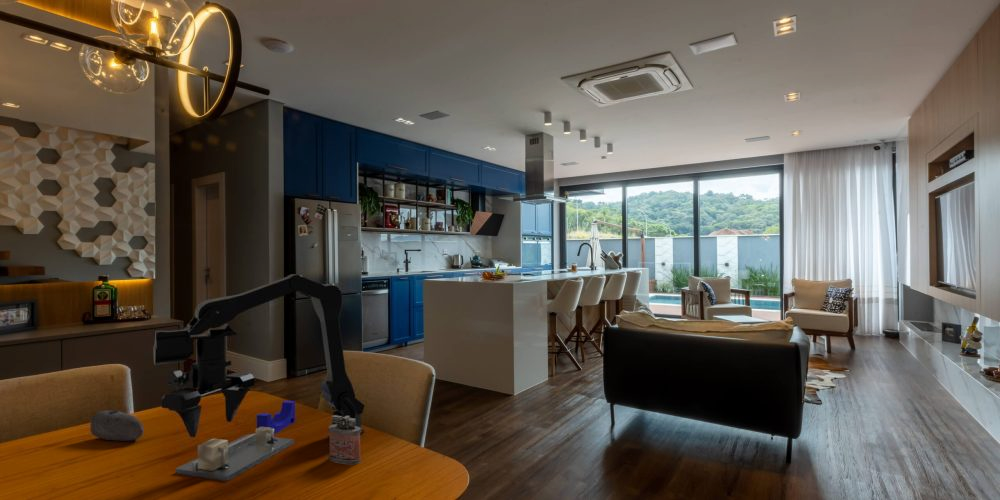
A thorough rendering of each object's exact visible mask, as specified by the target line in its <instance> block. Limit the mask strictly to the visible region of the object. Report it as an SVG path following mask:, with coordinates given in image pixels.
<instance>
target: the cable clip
mask: <svg viewBox="0 0 1000 500" xmlns="http://www.w3.org/2000/svg"><path fill="white" fill-rule="evenodd" d="M280 408H281V410H280V411H278V412H276V413H274V415H273V417H272V413H265V412H264V413H262V412H261V413H258V414H256V429H257V428H259V427H270V428H273V429H274V435H275V434H277V433H278V432H280V431H282V430H284V429H285V428H287V427H289V426H290V425H292V424H293V423H296V401H295V400H294V401H293V400H285V401H282V403H281V407H280Z"/></svg>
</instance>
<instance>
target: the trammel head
mask: <svg viewBox="0 0 1000 500" xmlns="http://www.w3.org/2000/svg"><path fill="white" fill-rule="evenodd" d="M228 444H229V440H228V439H221V438H211V439H209V440H207V441H205V442H203V443H201V444H198V445H197V458H198V469H203V470H210V471H213V470H215V469H217V468H219V467H224V466H225V464H227V463H228Z"/></svg>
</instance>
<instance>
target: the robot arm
mask: <svg viewBox="0 0 1000 500" xmlns="http://www.w3.org/2000/svg"><path fill="white" fill-rule="evenodd" d="M292 293H298V294H300V295H302V296H304V297H307V298H310V299H311V302H312V304H313V308H314V311H315V313H316V315H317V317H318V319H319V320H320V327H321V334H322V335H321V336H322V337H321V338H322V343H323V350H324V351H323V352H324V356H325V357H324V358H325V365H326V378H325V381H321V382H319V384H320V388H321V398H322V399H324V401H325V402H326V403H327V404H329V406H331V408H332V410H333V416H334V415H336V416H342V417H345V416H350V418H354V419H356V423H355V426H357V427H360V428H361V432H360V435H362V434H363V433H365V432H366V431H365V429H364V428H363V429H362V414H363V412H364V408H365V404H363V402H361V401H360V400H359V399H357V398H356V393H355V389H354V387H353V384H352V382H351V379H350V378H349V376H348V373H347V372H346V371H347V370H346V364H345V363H346V362H345V355H344V349H343V341H342V333H341V326H340V324H341V323H340V315H341V314H342V313H341V312H342V309H343V292H342V290H341V288H339V287H338V286H336V285H332V284H325V283H318V282H316V281H315V280H311V279H308V278H306V277H304V276H303V275H301V274H295V273H292V274H289V275H287V276H285V277H283V278H280V279H277V280H274V281H272V282H269V283H267V284H263V285H261V286H257V287H256V288H253V289H250V290H246V291H244V292H242V293H239V294H234V295H227V296H222V297H221V296H220V297H217V298H215V297H214V298H212V299H205V300H203V301H202V302H200V303H198V304H197V306H196V307H195V309H194V310H195V311H194V316H193V317H192V319H190V321H189V322H188V323H187V325H186V326H185V327H184V328H183V329H175V330H156V331H155V333H154V334H155V335H154V345H152V346H153V350H152V352H153V356H152V357H153V365H154V366H155V365H162V364H163V365H164V364H171V363H178V362H179V363H180V362H186V361H188V359H189V358H191V357H192V356H194V351H195V350H196V352H195V353H196V356H195V357H196V358H195V359H196V361H195V363H191V365H190V370H189V371H186V372H182V370H180V369H178V370H175V371H172V372H169V373H168V374H167V385H168V387H169V388H170V389H173V388H176V390H173V391H170V392H167V393H165V394H163V396H162V397H161V398H162V399H161V409H167V410H169V411H173V412H176V413H177V414H178V416H179V417H180V418H181V420H182V422H183V424H184V426H185V429H186V431H187V433H188V435H189V437H191V438H195V437H196V436H197V432H198V430H199V422H200V419H201V418H200V416H201V412H202V405H201V404H200V402H201V400H202V398H203V397H207V396H209V395H213V394H215V393H219V392H221V393H222V394H223V396H224V400H225V407H224V408H225V419H226V422H227V423H231V422H232V421H233V420H234V418H235V415H236V413H237V411H238V409H239V408H240V406H241V404H242V402H243V400H244V398H245V397H246V395H247V393H248V392H249V391H250V390H251V387H254V386H255V376H254V375H253V374H252V373H250V372H249V373H248V372H234V373H233V372H232V373H230V374H228V366H232V360H229V359H228V358H227V357H228V341H227V340H228V337H231V336H232V337H233V336H237V335H238V332H237V331H236V330H234V329H233V328H232V327H231V326H230V325H229V324H228V322H231V321H232V320H234V319H236V318H237V317H238V316H240V315H241V314H242V313H244V312H246V311H248V310H250V309H253V308H256V307H258V306H261V305H263V304H266V303H268V302H272V301H273V300H277V299H279V298H281V297H284V296H286V295H289V294H292ZM222 326H223V327H222ZM219 327H221V328H219ZM206 331H207V332H206ZM205 332H206V333H205ZM195 340H196V341H195ZM194 341H195V342H194ZM195 345H196V348H195ZM194 349H195V350H194ZM186 388H188V389H186ZM193 389H194V390H193ZM334 424H337V423H336V422H332V421H331V425H334Z"/></svg>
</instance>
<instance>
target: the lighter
mask: <svg viewBox="0 0 1000 500" xmlns="http://www.w3.org/2000/svg"><path fill="white" fill-rule="evenodd" d="M332 422H336V423H337V424H334V425H332V424H331V425H329V426H328V432H329V433H328V434H329V455H328V461H330V462H333V463H337V464H344V465H357V464H359V463H361V462H362V457H361V434H360V432H361V429H362V427H361V428H360V427H357V426H355V423H356V419H354V418H350V416H345V417H342V416H336V415H334V414H333V415H332V416H331V423H332Z"/></svg>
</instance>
